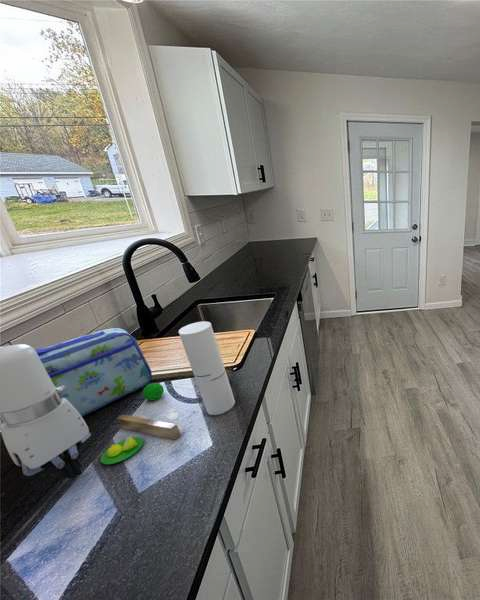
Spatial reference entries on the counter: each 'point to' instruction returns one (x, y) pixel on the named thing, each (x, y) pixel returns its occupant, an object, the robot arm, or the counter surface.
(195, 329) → the cylindrical container
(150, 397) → the polyhedron
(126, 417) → the rail
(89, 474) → the counter surface
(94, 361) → the lunch box
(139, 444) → the plate of yellow fruit
